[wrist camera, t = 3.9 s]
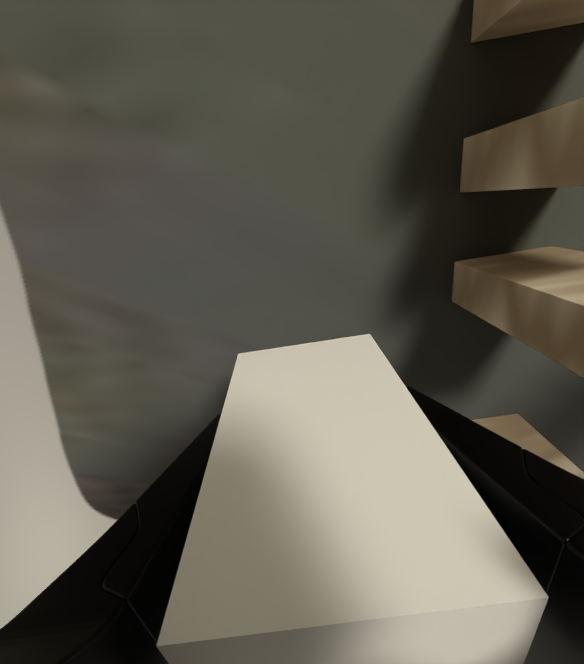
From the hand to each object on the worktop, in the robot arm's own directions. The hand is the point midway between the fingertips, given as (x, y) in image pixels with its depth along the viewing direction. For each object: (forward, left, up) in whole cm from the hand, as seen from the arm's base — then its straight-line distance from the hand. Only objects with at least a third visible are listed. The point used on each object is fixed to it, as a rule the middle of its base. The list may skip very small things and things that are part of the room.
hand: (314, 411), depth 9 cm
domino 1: (0, 0, -3) cm, 3 cm away
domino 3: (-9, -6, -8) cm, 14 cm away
